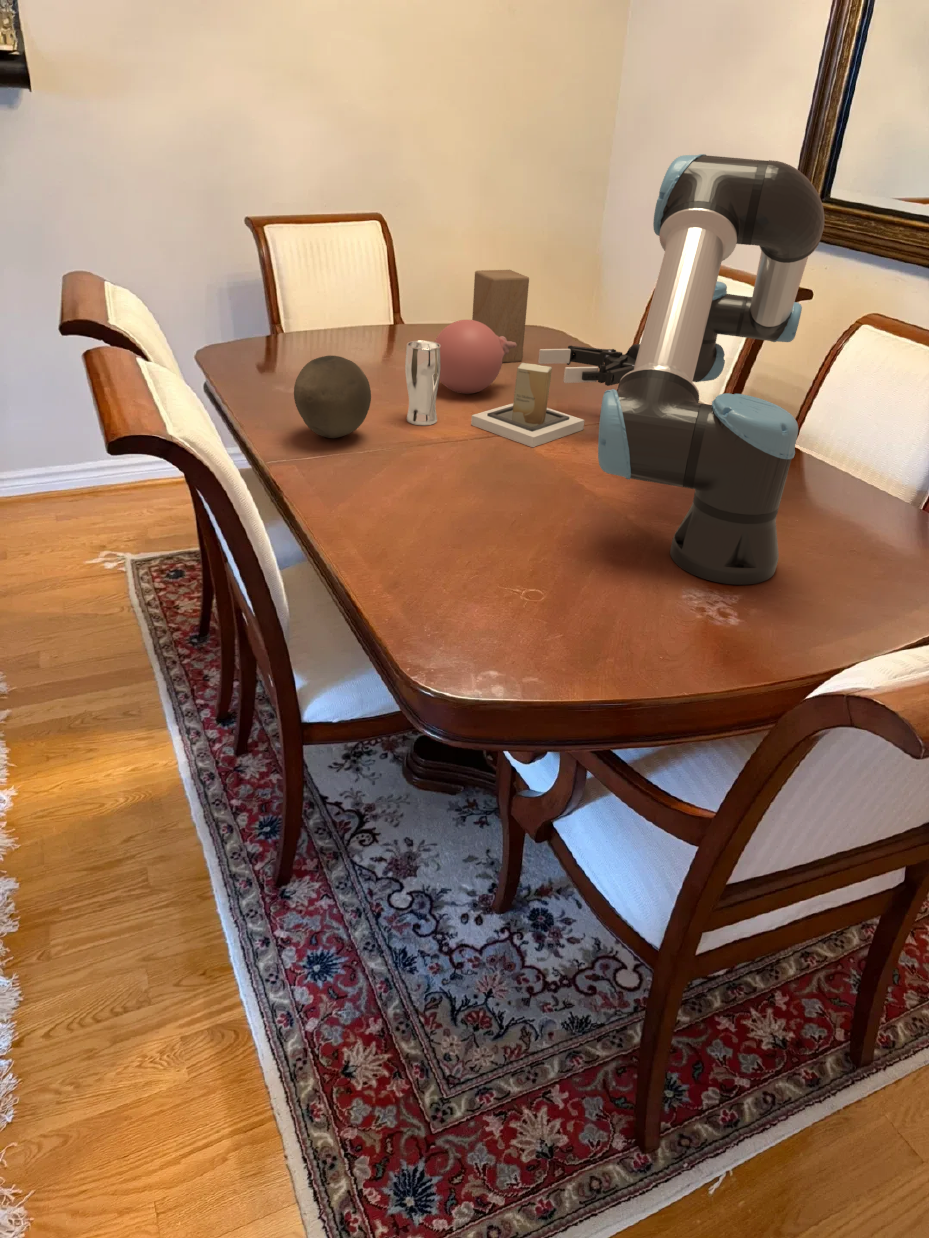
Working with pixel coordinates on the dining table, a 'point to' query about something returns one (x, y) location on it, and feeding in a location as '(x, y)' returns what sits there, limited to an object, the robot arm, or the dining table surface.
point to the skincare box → (531, 394)
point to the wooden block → (502, 306)
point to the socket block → (531, 436)
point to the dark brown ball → (332, 396)
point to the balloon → (470, 355)
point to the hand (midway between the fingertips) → (551, 365)
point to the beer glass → (422, 380)
